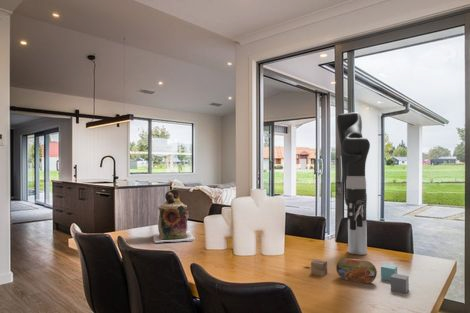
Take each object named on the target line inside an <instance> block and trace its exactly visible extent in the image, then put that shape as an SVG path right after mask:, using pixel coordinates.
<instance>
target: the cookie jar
mask: <svg viewBox="0 0 470 313" xmlns="http://www.w3.org/2000/svg"><path fill="white" fill-rule="evenodd" d="M179 189H180V187H177V188H176V189H175V188H174V189H170V190H168V191H167V192H166V193H165V196H164V197H165V200H166V201H165V202H164V203H163V204H161V205H159V206H157V209H158V211H159V214H158V215H159V216H158V221H157V222H158V224H157V227H158V233H152V238H153V242H154V244H157V243H160V244H161V243H165V242H166V243H167V242H168V243H169V242H171V243H174V242H175V243H177V242H192V241H194V240H195V239H196V237H194V235H193V234H192V233H191V231H190V230H188V219H189V216H190V215H189V210H187V209H188V206H187V205H186V204H184V203H183V202H182V201H181V200H180V195H181V194H180V192H179Z"/></svg>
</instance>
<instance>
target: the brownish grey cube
mask: <svg viewBox="0 0 470 313" xmlns="http://www.w3.org/2000/svg"><path fill="white" fill-rule="evenodd" d="M310 272H311V273H310V274H311V275H314V276H320V277H323V276H325V275H327V274H328V261H326V260H321V259H320V260H319V259H314V260H312V261H311V262H310Z"/></svg>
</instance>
